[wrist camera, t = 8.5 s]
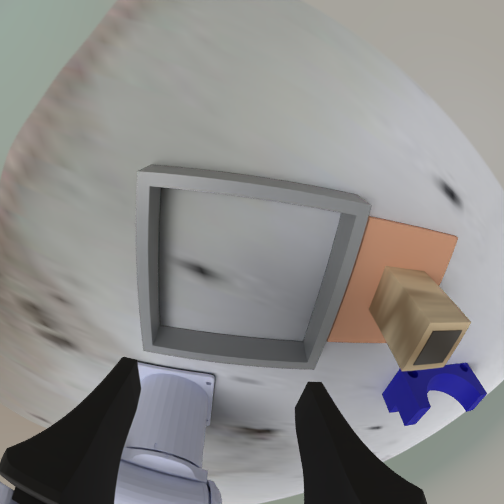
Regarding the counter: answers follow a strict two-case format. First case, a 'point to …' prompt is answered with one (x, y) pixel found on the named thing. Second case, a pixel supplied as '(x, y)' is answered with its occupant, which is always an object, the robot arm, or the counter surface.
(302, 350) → the parts tray
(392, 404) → the cable clip
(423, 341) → the part block
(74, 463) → the robot arm
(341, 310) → the place mat
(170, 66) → the counter surface
